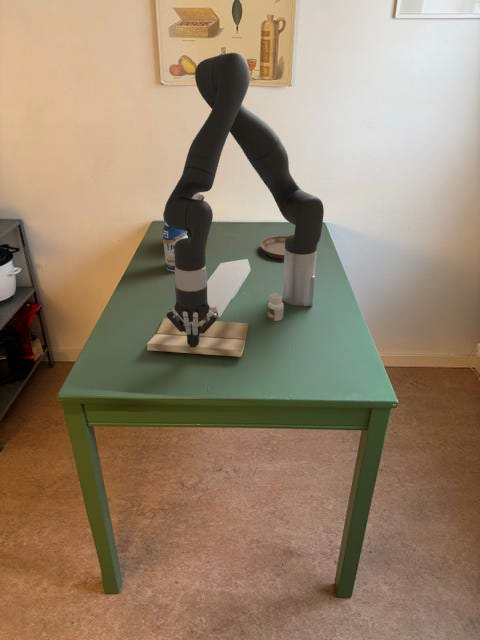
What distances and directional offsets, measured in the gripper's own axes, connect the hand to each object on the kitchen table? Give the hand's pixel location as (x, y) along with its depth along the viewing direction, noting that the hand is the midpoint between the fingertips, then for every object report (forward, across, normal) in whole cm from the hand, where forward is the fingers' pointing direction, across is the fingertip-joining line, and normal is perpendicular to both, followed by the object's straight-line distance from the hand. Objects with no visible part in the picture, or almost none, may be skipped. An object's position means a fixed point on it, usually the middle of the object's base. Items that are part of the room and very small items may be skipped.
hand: (193, 345), depth 128 cm
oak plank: (+3, 0, -3) cm, 4 cm away
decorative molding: (+4, -1, -37) cm, 37 cm away
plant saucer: (+2, -19, -71) cm, 73 cm away
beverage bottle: (+3, +17, -53) cm, 55 cm away
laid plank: (+4, 0, -12) cm, 13 cm away
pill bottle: (+3, -19, -22) cm, 29 cm away
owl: (+2, +17, -72) cm, 74 cm away
